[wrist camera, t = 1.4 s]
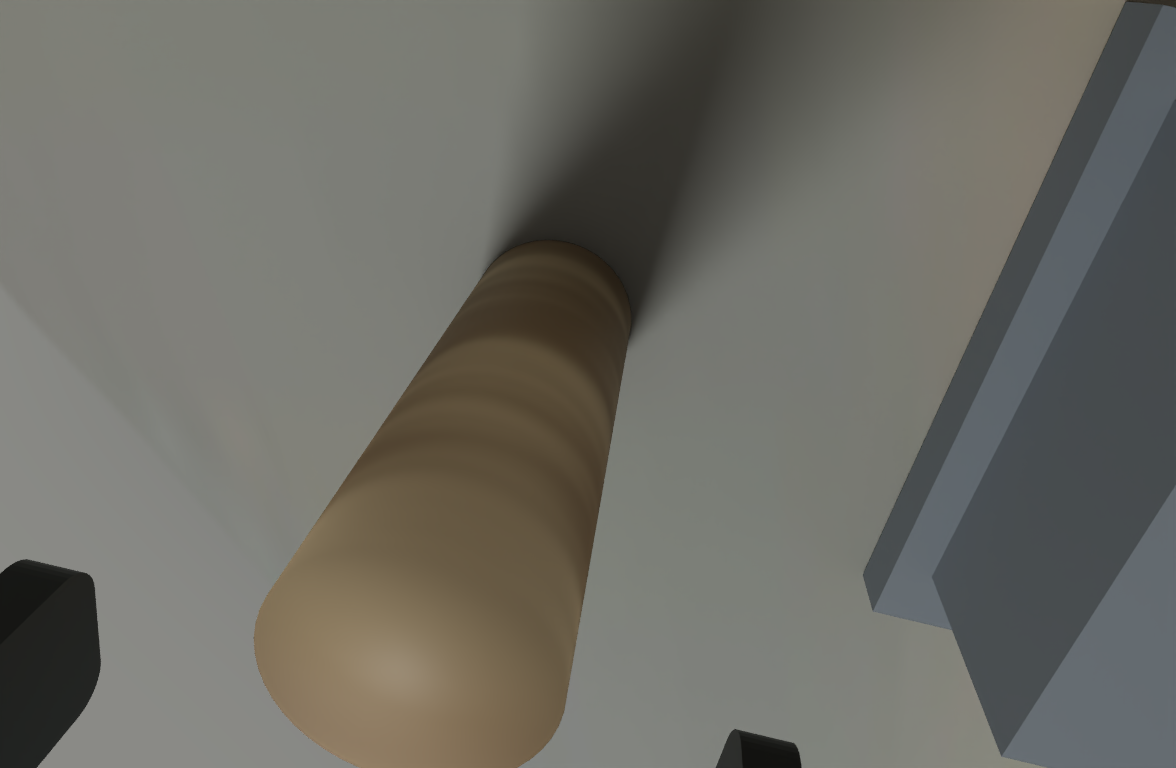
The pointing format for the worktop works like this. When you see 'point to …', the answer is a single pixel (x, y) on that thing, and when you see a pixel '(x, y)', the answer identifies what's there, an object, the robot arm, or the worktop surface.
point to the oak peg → (462, 534)
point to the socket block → (1066, 446)
